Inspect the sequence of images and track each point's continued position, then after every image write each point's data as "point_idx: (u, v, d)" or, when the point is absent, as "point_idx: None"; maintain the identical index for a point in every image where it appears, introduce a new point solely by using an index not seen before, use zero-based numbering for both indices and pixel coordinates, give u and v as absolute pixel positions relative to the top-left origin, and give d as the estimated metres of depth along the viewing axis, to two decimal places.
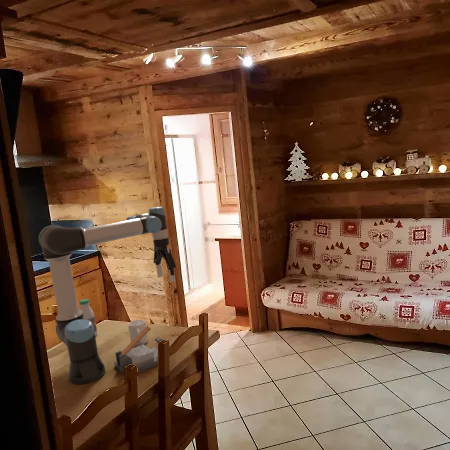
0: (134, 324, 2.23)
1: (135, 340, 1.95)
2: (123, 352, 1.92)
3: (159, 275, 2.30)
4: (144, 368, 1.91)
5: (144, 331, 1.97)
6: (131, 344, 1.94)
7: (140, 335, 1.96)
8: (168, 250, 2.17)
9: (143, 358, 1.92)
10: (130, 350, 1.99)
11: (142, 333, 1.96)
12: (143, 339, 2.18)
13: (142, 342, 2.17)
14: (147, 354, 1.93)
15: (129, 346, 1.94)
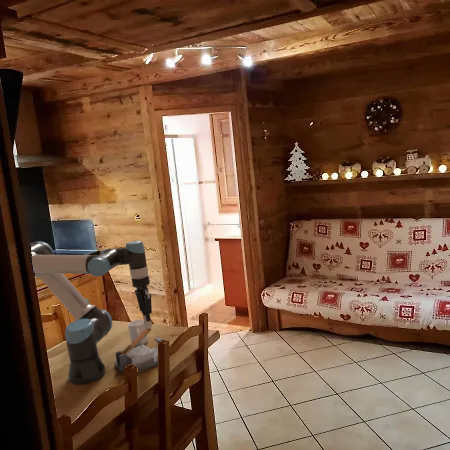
0: (134, 324, 2.23)
1: (135, 340, 1.95)
2: (123, 352, 1.92)
3: None
4: (144, 368, 1.91)
5: (145, 332, 1.97)
6: (131, 344, 1.94)
7: (141, 336, 1.96)
8: (148, 296, 1.91)
9: (143, 358, 1.92)
10: None
11: (143, 334, 1.97)
12: (143, 339, 2.18)
13: (142, 342, 2.17)
14: (147, 354, 1.93)
15: (129, 346, 1.94)
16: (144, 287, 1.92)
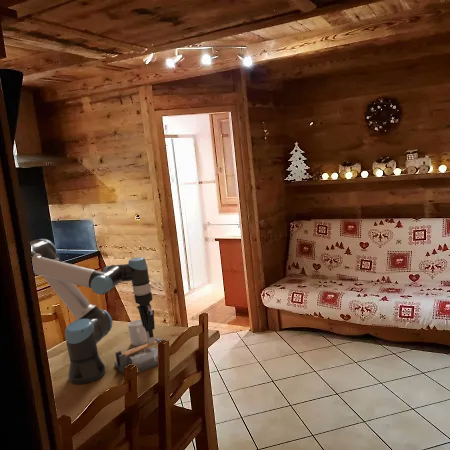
0: (134, 324, 2.23)
1: (139, 347, 1.96)
2: (124, 353, 1.93)
3: None
4: (144, 368, 1.91)
5: None
6: (134, 349, 1.95)
7: (145, 345, 1.98)
8: (151, 313, 1.92)
9: (143, 358, 1.92)
10: None
11: (148, 344, 1.98)
12: (143, 339, 2.18)
13: (142, 342, 2.17)
14: (147, 354, 1.93)
15: (132, 350, 1.95)
16: (147, 303, 1.93)
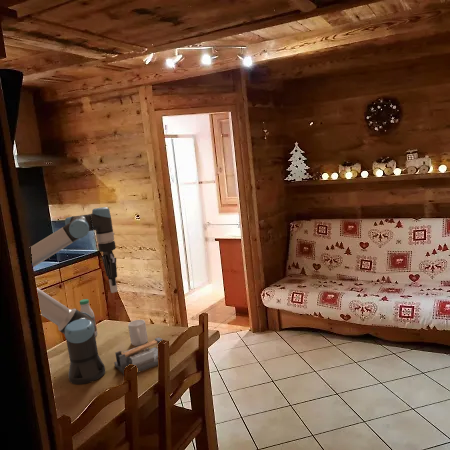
0: (134, 324, 2.23)
1: (139, 347, 1.96)
2: None
3: None
4: (144, 368, 1.91)
5: (150, 343, 1.99)
6: (134, 349, 1.95)
7: (145, 345, 1.98)
8: (113, 260, 1.97)
9: (143, 358, 1.92)
10: None
11: (148, 344, 1.98)
12: (143, 339, 2.18)
13: (142, 342, 2.17)
14: (147, 354, 1.93)
15: (132, 350, 1.95)
16: (109, 251, 1.99)
